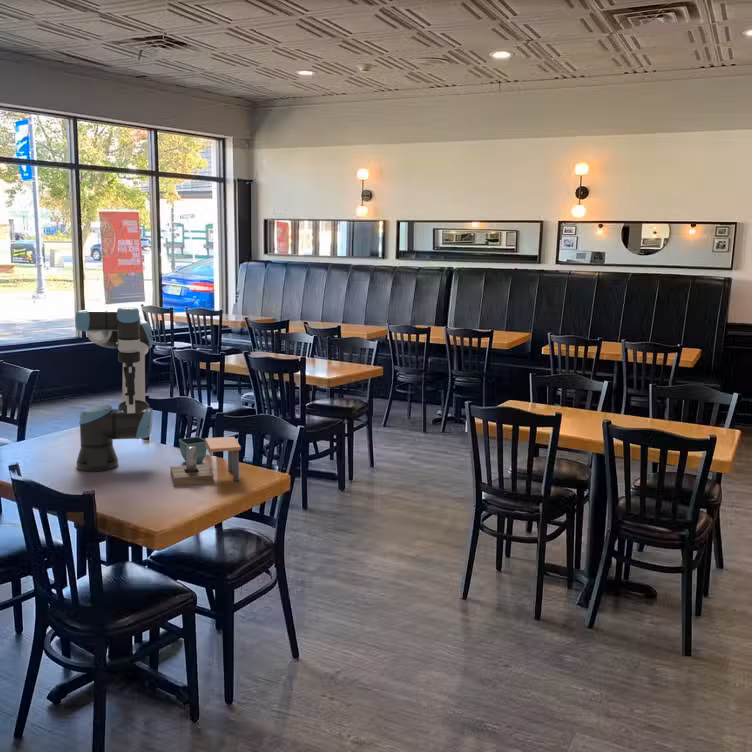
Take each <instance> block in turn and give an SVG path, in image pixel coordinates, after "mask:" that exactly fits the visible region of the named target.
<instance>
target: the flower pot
mask: <svg viewBox="0 0 752 752" xmlns="http://www.w3.org/2000/svg"><path fill="white" fill-rule="evenodd" d="M178 444H179V450H180V454H181V456H182V459H183V460H184V462H186V447H188V446H195V447H196V464H199V463H202V462H203V461H204V459H205V457H206V454H207V452H208V450H207V448H206V446H205V438H202V437H200V436H193V437H188V438H187V437H186V438H179V439H178Z"/></svg>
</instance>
